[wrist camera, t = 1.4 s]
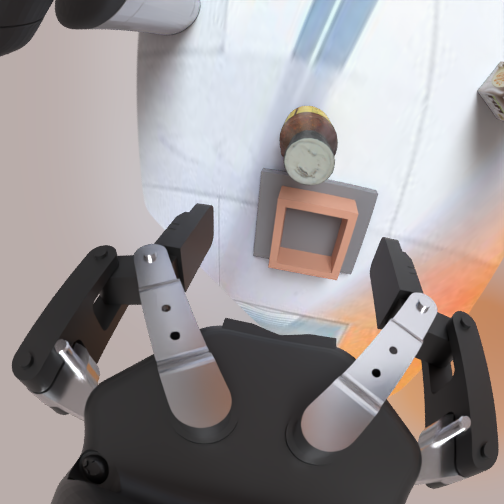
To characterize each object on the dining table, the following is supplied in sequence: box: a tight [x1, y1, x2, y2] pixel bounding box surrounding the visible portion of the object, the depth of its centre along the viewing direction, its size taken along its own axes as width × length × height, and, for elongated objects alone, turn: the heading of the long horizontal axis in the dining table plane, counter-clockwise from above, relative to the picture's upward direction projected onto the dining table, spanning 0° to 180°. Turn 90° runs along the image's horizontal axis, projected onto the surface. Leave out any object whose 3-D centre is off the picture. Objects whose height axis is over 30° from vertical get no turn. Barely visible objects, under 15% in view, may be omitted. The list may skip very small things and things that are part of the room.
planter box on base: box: [253, 168, 378, 280], centre depth 43 cm, size 18×16×6 cm
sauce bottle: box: [280, 106, 338, 185], centre depth 28 cm, size 7×6×20 cm
